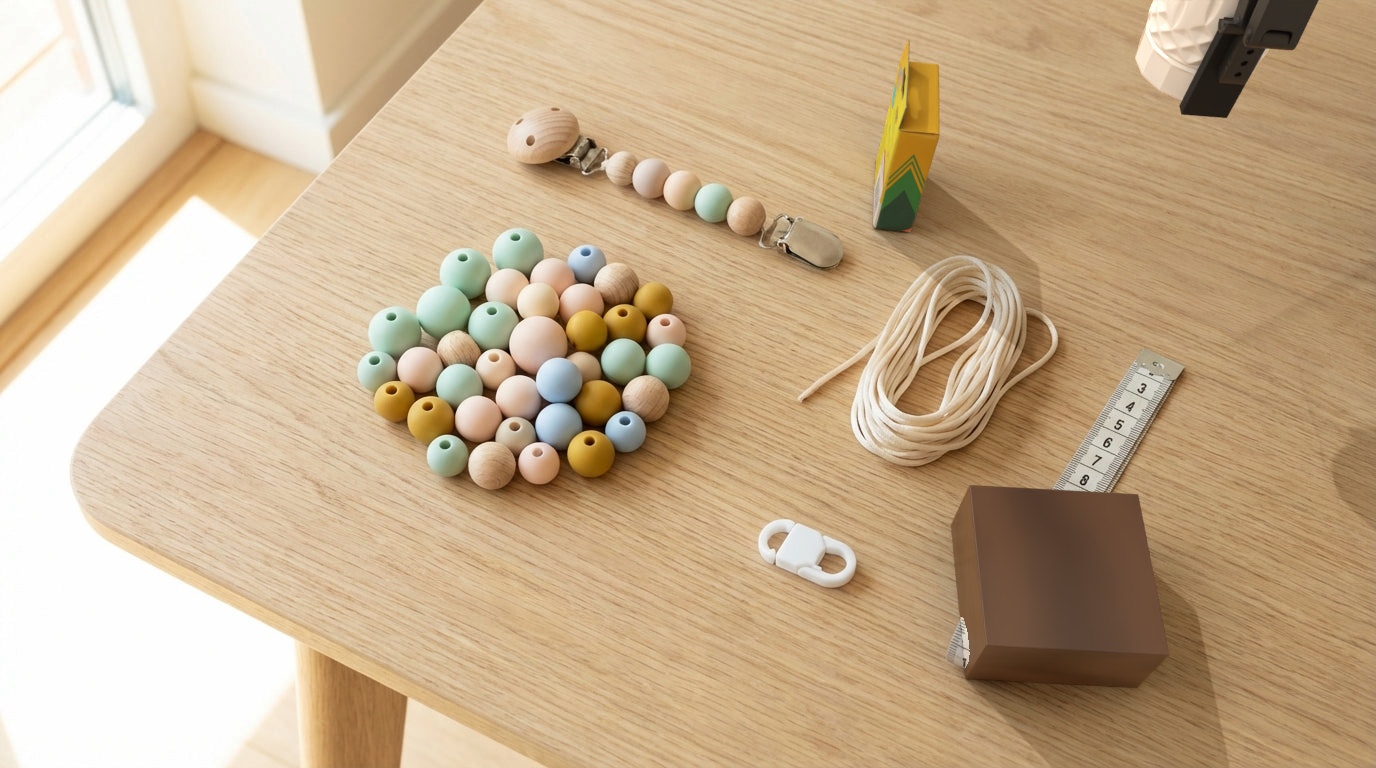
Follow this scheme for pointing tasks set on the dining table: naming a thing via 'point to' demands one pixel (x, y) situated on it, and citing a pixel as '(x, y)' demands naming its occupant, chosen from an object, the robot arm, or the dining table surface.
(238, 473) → the dining table surface
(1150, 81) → the white cup
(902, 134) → the crayon box
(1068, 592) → the walnut riser
